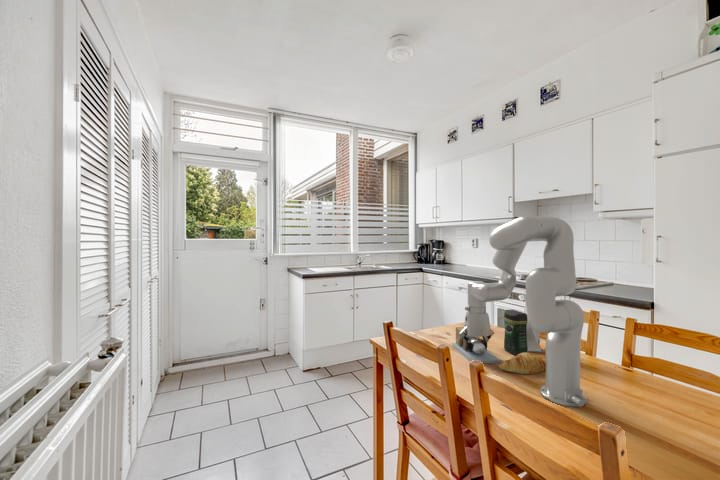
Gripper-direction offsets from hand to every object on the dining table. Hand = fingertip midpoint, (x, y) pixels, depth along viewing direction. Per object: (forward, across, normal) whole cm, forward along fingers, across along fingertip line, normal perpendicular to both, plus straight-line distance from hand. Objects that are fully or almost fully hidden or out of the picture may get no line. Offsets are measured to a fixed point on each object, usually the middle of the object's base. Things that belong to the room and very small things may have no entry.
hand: (476, 350), depth 140 cm
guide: (+1, 0, +4) cm, 4 cm away
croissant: (+3, +12, -16) cm, 20 cm away
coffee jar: (+3, +19, +2) cm, 19 cm away
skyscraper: (+3, +28, +3) cm, 28 cm away
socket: (+1, 0, +11) cm, 11 cm away
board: (+2, 0, +2) cm, 3 cm away
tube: (+1, 0, +4) cm, 4 cm away
